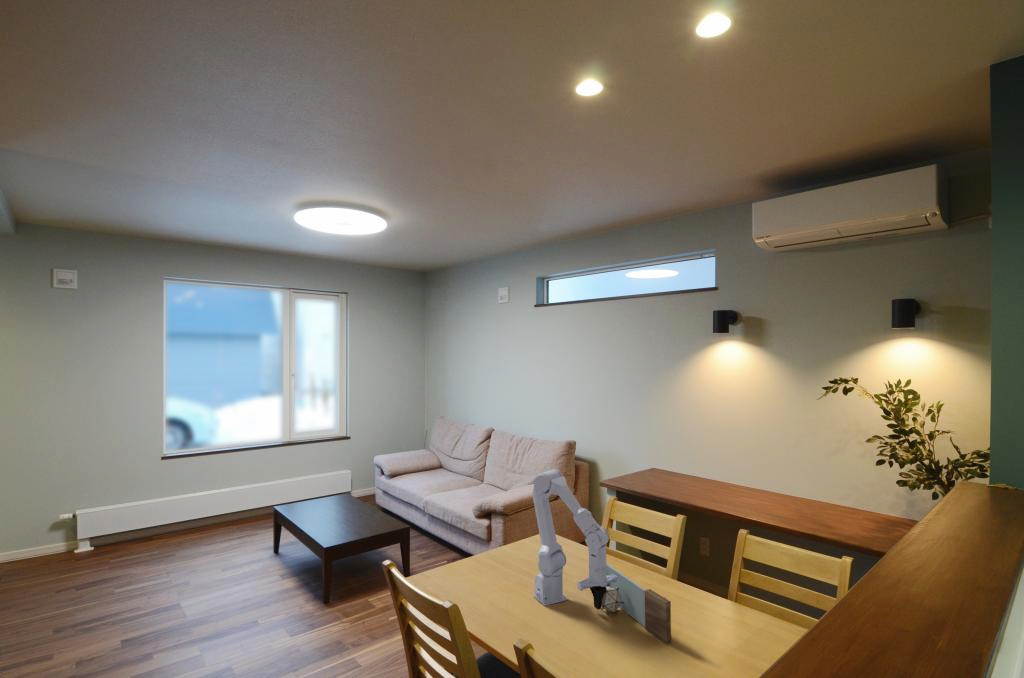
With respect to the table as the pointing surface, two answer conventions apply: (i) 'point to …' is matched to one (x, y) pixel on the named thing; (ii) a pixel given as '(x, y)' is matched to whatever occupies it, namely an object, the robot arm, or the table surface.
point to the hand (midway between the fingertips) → (597, 607)
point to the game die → (611, 599)
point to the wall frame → (658, 616)
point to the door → (629, 594)
